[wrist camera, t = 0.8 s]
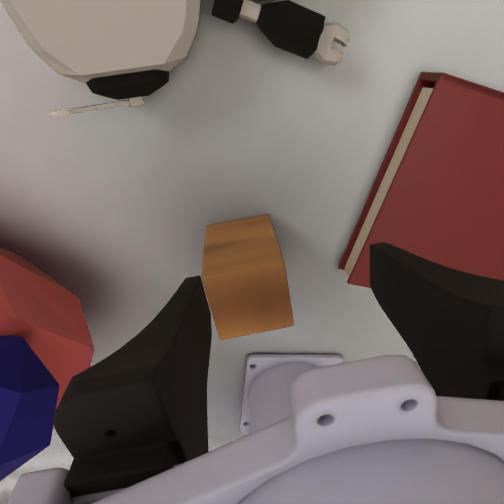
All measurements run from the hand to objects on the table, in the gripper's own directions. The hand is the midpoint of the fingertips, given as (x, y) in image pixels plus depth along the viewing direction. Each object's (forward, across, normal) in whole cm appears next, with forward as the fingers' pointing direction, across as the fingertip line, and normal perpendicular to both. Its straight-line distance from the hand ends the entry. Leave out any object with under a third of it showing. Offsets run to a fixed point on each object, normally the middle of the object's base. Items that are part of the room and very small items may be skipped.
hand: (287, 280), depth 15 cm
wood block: (+9, +2, +3) cm, 10 cm away
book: (+9, -16, +3) cm, 18 cm away
